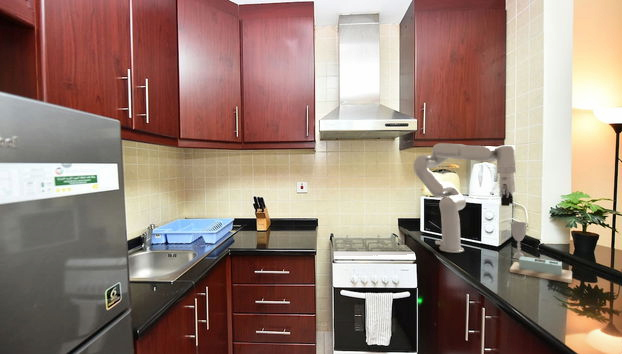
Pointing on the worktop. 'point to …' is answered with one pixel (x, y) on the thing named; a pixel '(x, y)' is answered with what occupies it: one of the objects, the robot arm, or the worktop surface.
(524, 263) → the flange bar
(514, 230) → the chalice
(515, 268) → the post board
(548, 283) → the worktop surface
